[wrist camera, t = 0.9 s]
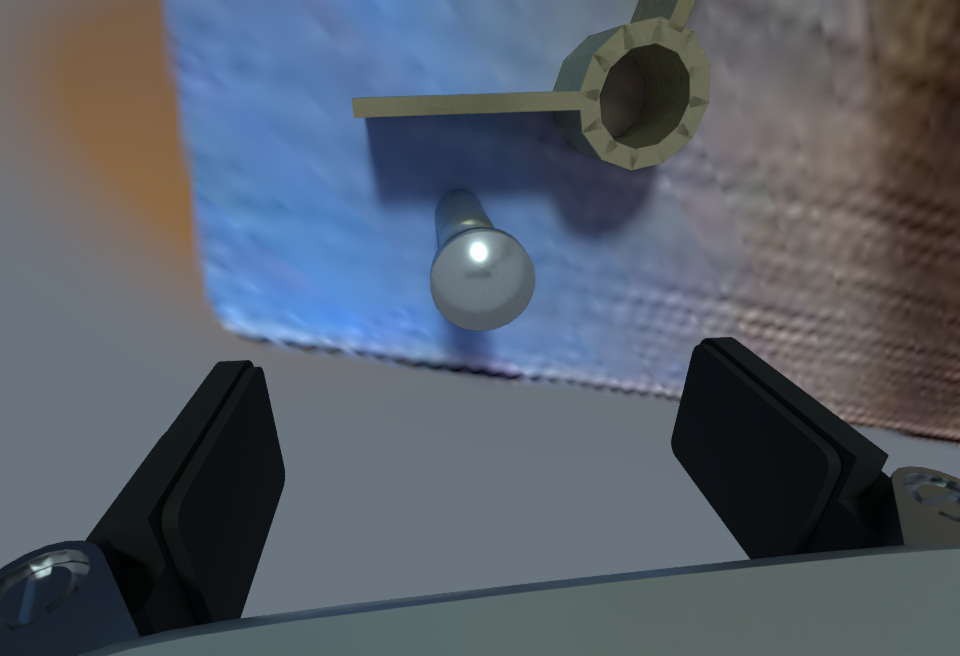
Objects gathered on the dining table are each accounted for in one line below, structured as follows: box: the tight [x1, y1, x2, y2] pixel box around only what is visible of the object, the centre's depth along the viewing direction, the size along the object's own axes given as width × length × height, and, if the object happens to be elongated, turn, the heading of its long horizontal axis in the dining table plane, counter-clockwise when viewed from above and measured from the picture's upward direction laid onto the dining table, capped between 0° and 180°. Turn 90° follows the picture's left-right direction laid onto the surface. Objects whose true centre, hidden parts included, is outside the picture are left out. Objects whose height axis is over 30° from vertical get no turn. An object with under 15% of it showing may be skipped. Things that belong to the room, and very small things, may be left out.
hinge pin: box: [430, 190, 535, 331], centre depth 24 cm, size 4×4×12 cm
